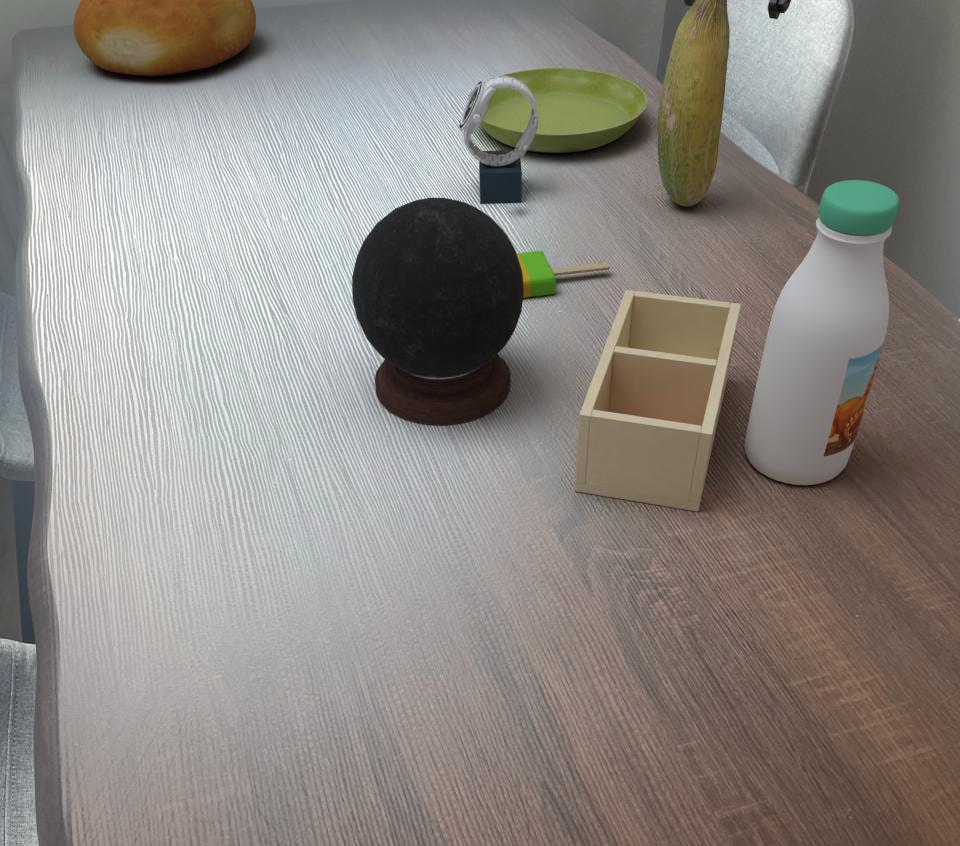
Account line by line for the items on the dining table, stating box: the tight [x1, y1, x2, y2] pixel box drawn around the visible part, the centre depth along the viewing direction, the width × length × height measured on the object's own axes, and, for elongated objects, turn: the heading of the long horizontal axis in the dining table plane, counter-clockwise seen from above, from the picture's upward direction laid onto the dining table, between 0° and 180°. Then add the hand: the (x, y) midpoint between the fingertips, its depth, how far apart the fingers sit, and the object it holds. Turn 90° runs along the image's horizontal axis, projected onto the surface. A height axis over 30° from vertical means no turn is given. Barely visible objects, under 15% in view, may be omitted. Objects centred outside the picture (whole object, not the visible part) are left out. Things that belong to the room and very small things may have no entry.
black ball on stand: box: [351, 197, 524, 426], centre depth 79 cm, size 13×13×15 cm
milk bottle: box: [744, 179, 900, 486], centre depth 70 cm, size 8×8×20 cm
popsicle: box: [516, 250, 611, 299], centre depth 95 cm, size 6×15×2 cm, turn 101°
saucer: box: [466, 67, 648, 154], centre depth 119 cm, size 21×21×3 cm
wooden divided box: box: [574, 289, 742, 513], centre depth 77 cm, size 9×17×7 cm, turn 164°
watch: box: [458, 75, 539, 204], centre depth 105 cm, size 6×8×11 cm
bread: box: [73, 0, 257, 77], centre depth 135 cm, size 23×23×10 cm
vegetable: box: [657, 0, 731, 207], centre depth 98 cm, size 6×6×20 cm
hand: (728, 7), depth 97 cm, fingers open, 8 cm apart
